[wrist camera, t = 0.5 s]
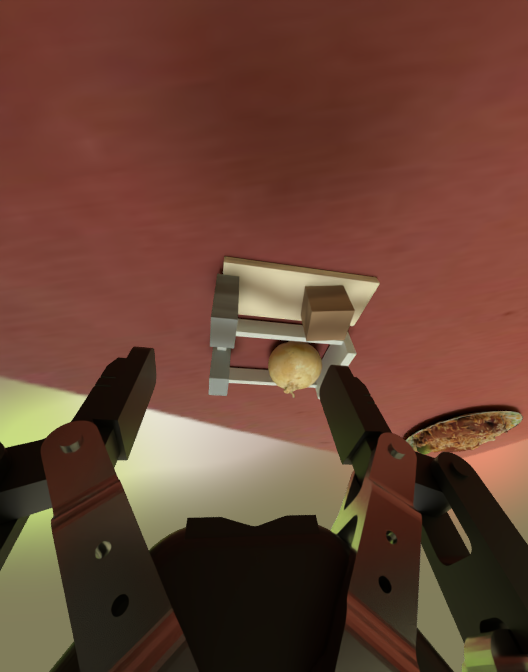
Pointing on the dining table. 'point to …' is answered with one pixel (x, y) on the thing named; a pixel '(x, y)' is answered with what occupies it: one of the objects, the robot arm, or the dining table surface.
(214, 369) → the grey rectangular frame
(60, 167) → the dining table surface
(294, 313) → the cream board with block
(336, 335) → the walnut cube
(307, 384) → the onion
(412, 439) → the rice dish
